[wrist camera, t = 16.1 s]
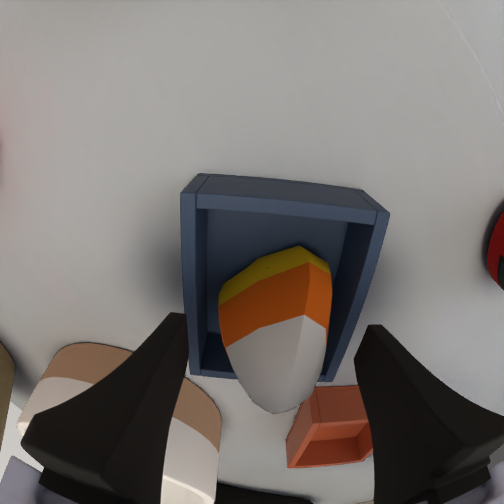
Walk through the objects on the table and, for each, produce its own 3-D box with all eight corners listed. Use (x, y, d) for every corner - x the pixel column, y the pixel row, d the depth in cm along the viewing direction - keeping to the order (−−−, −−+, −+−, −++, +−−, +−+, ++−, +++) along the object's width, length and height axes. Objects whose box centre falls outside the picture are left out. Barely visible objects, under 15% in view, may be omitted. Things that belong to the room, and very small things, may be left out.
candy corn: (238, 318, 16) (228, 444, 9) (208, 280, 15) (176, 410, 8) (334, 272, 15) (381, 398, 8) (310, 227, 14) (358, 349, 7)
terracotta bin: (397, 381, 20) (408, 412, 17) (357, 435, 25) (363, 461, 22) (307, 386, 20) (312, 423, 17) (285, 440, 25) (287, 468, 22)
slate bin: (363, 189, 13) (391, 213, 10) (323, 341, 18) (332, 382, 15) (197, 173, 13) (179, 192, 10) (199, 334, 18) (189, 374, 15)
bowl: (94, 305, 17) (35, 402, 9) (262, 421, 23) (262, 504, 15) (37, 377, 22) (7, 433, 15) (156, 453, 28) (145, 508, 20)
